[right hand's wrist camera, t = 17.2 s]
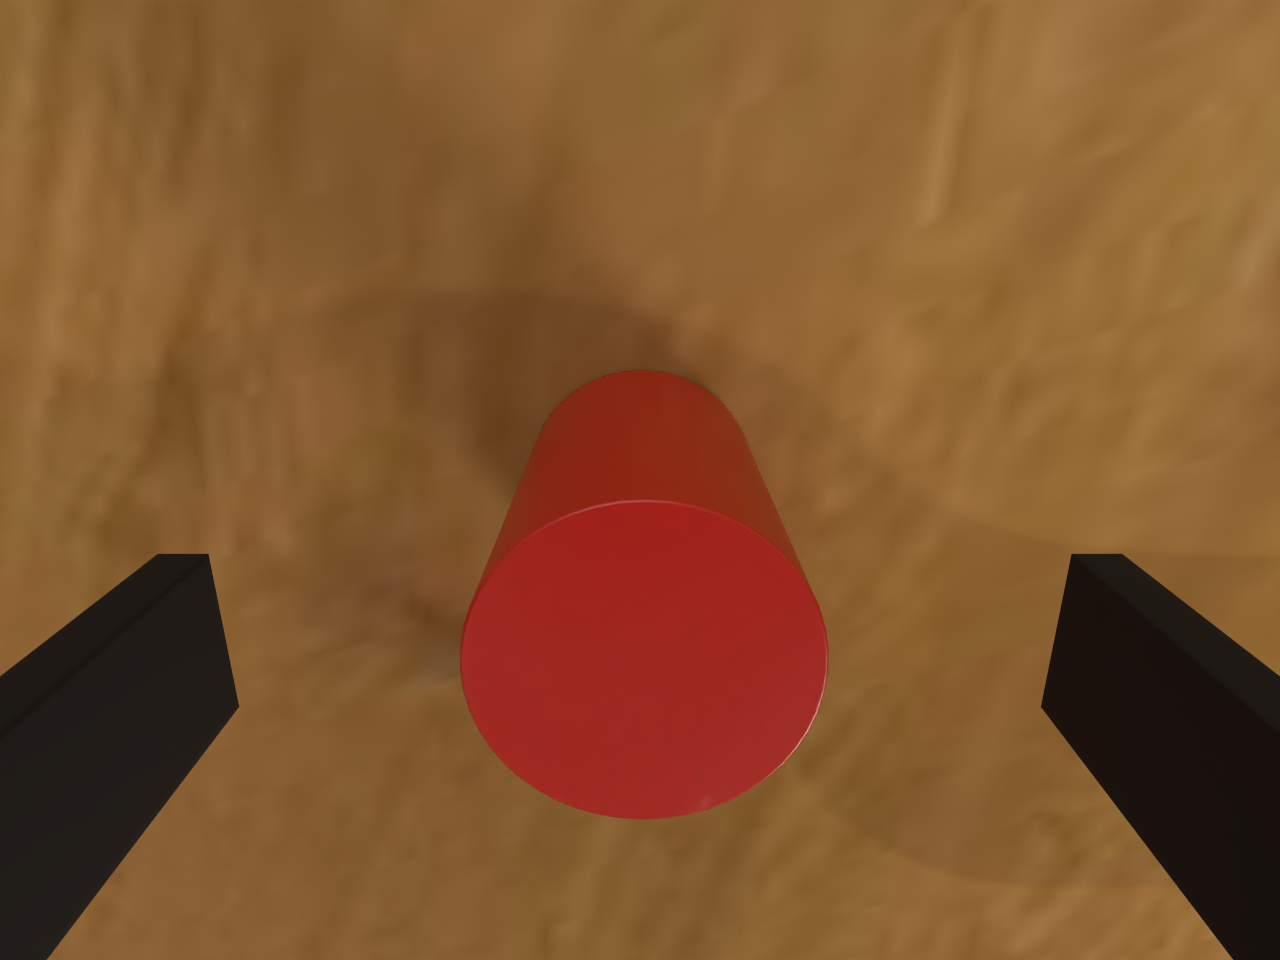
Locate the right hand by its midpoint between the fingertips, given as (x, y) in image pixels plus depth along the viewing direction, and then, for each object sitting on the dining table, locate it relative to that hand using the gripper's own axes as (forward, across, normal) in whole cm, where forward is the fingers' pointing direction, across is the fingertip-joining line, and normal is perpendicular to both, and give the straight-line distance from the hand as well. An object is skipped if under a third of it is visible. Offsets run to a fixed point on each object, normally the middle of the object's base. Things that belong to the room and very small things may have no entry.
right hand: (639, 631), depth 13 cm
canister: (+8, 0, 0) cm, 8 cm away
